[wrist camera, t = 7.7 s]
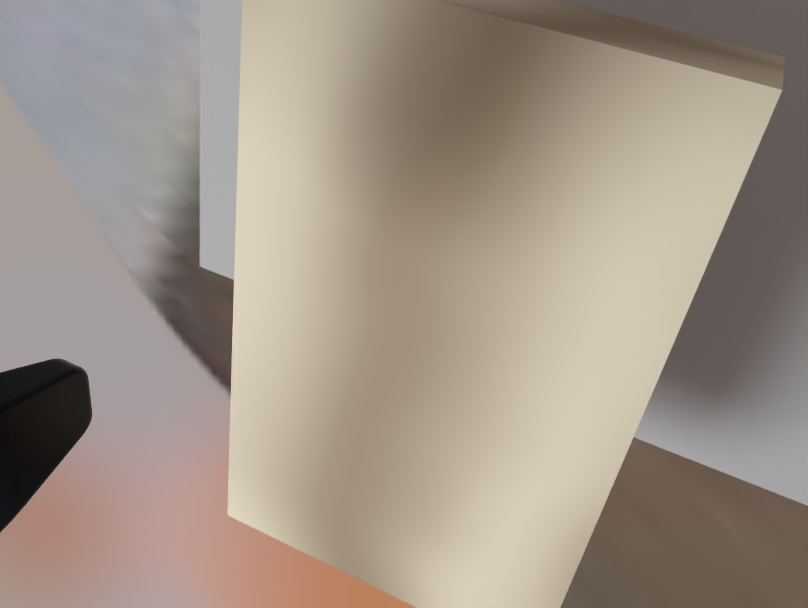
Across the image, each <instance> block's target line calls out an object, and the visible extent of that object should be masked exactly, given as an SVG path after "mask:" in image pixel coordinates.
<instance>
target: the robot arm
mask: <svg viewBox="0 0 808 608" xmlns="http://www.w3.org/2000/svg"><path fill="white" fill-rule="evenodd" d="M91 418H92V408H91V399H90V390H89V381H88V375H87V373H86V372H85V370H84V369H83V368H81V367H79V366H77V365H74V364H72V363H70V362H68V361H66V360H63V359H51V360H47V361H43V362H39V363H35V364H31V365H28V366H24V367H20V368H16V369H12V370H9V371H5V372H1V373H0V532H1V531H2V530H3V529H4V528H5V527H6V526H7V525H8V524H9V523H10V522H11V521H12V519H14V517H15V516H16V515H17V514H18V513H19V512H20V510H21V509H22V508H23V507H24V506H25V505H26V504H27V502H28V501H29V500H30V499H31V497H32V496H33V495H34V494H35V493H36V491H37V490H38V489H39V488H40V486H41V485H42V484H43V483H44V481H45V480H46V479H47V478H48V477H49V476H50V474H51V473H52V472H53V471H54V469H55V468H56V467H57V466H58V465H59V463H60V462H61V461H62V460H63V458H64V457H65V456H66V455H67V454H68V452H69V451H70V450H71V449H72V448H73V446H74V445H75V444H76V442H77V441H78V440H79V439H80V438H81V437H82V435H83V434H84V433H85V431H86V430H87V428H88V426H89V424H90V421H91Z"/></svg>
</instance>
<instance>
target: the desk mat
mask: <svg viewBox="0 0 808 608" xmlns="http://www.w3.org/2000/svg"><path fill="white" fill-rule="evenodd" d="M557 1H561V2H565V3H569V4H573V5H577V6H581V7H585V8H589V9H593V10H597V11H601V12H605V13H609V14H614V15H618V16H622V17H626V18H630V19H634V20H638V21H642V22H646V23H650V24H654V25H658V26H662V27H666V28H670V29H674V30H678V31H682V32H686V33H690V34H694V35H698V36H702V37H706V38H710V39H714V40H718V41H722V42H727V43H731V44H735V45H739V46H743V47H747V48H751V49H755V50H759V51H763V52H767V53H771V54H775V55H779V56H783V57H785V64H784V77H783V89H782V92H781V94H780V97H779V99H778V101H777V104H776V106H775V108H774V111H773V113H772V115H771V118H770V120H769V122H768V125H767V127H766V129H765V132H764V134H763V136H762V139H761V141H760V143H759V146H758V148H757V150H756V153H755V155H754V157H753V160H752V162H751V164H750V167H749V169H748V171H747V174H746V176H745V178H744V181H743V183H742V185H741V188H740V190H739V192H738V195H737V197H736V199H735V202H734V204H733V206H732V209H731V211H730V213H729V216H728V218H727V220H726V223H725V225H724V227H723V230H722V232H721V234H720V237H719V239H718V241H717V244H716V246H715V248H714V251H713V253H712V255H711V258H710V260H709V262H708V265H707V267H706V269H705V272H704V274H703V276H702V278H701V281H700V283H699V285H698V288H697V290H696V292H695V295H694V297H693V299H692V302H691V304H690V306H689V309H688V311H687V313H686V316H685V318H684V320H683V323H682V325H681V327H680V330H679V332H678V334H677V337H676V339H675V341H674V344H673V346H672V348H671V351H670V353H669V355H668V358H667V360H666V362H665V365H664V367H663V369H662V372H661V374H660V376H659V379H658V381H657V383H656V386H655V388H654V390H653V393H652V395H651V397H650V400H649V402H648V404H647V407H646V409H645V411H644V414H643V416H642V418H641V421H640V423H639V425H638V428H637V430H636V432H635V435H634V437H635V438H637V439H640V440H642V441H645V442H647V443H650V444H652V445H655V446H657V447H660V448H663V449H665V450H668V451H670V452H673V453H675V454H678V455H680V456H683V457H685V458H688V459H691V460H693V461H696V462H698V463H701V464H703V465H706V466H708V467H711V468H713V469H716V470H718V471H721V472H724V473H726V474H729V475H731V476H734V477H736V478H739V479H741V480H744V481H746V482H749V483H752V484H754V485H757V486H759V487H762V488H764V489H767V490H769V491H772V492H774V493H777V494H779V495H782V496H785V497H787V498H790V499H792V500H795V501H797V502H800V503H802V504H805V505H807V506H808V0H557ZM241 20H242V0H200V267H203V268H205V269H208V270H210V271H213V272H215V273H218V274H220V275H223V276H226V277H228V278H231V279H233V280H234V267H235V232H236V197H237V161H238V126H239V91H240V55H241Z"/></svg>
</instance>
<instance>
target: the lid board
mask: <svg viewBox="0 0 808 608" xmlns="http://www.w3.org/2000/svg"><path fill="white" fill-rule="evenodd" d="M784 64H785V57H783V56H779V55H775V54H771V53H767V52H763V51H759V50H755V49H751V48H747V47H743V46H739V45H735V44H731V43H727V42H722V41H718V40H714V39H710V38H706V37H702V36H698V35H694V34H690V33H686V32H682V31H678V30H674V29H670V28H666V27H662V26H658V25H654V24H650V23H646V22H642V21H638V20H634V19H630V18H626V17H622V16H618V15H614V14H609V13H605V12H601V11H597V10H593V9H589V8H585V7H581V6H577V5H573V4H569V3H565V2H561V1H557V0H242V20H241V55H240V91H239V126H238V161H237V197H236V232H235V267H234V303H233V338H232V374H231V409H230V410H231V411H230V447H229V480H228V482H229V483H228V516H230V517H232V518H234V519H236V520H238V521H241V522H242V523H245V524H247V525H249V526H251V527H253V528H255V529H257V530H259V531H261V532H263V533H265V534H267V535H269V536H271V537H273V538H275V539H277V540H279V541H282V542H284V543H286V544H288V545H290V546H292V547H294V548H296V549H298V550H300V551H302V552H304V553H306V554H308V555H310V556H312V557H315V558H317V559H318V560H320V561H322V562H324V563H327V564H329V565H331V566H333V567H335V568H337V569H339V570H341V571H343V572H345V573H347V574H349V575H351V576H353V577H355V578H357V579H359V580H361V581H363V582H366V583H368V584H370V585H372V586H374V587H376V588H378V589H380V590H382V591H384V592H386V593H388V594H390V595H393V596H394V597H396V598H399V599H400V600H403V601H404V602H407V603H409V604H411V605H413V606H415V607H417V608H560V607H561V605H562V602H563V600H564V598H565V595H566V593H567V591H568V588H569V586H570V584H571V581H572V579H573V577H574V574H575V572H576V570H577V567H578V565H579V563H580V560H581V558H582V556H583V553H584V551H585V549H586V546H587V544H588V542H589V539H590V537H591V535H592V532H593V530H594V528H595V525H596V523H597V521H598V518H599V516H600V514H601V511H602V509H603V507H604V504H605V502H606V500H607V497H608V495H609V493H610V490H611V488H612V486H613V484H614V481H615V479H616V477H617V474H618V472H619V470H620V467H621V465H622V463H623V460H624V458H625V456H626V453H627V451H628V449H629V446H630V444H631V442H632V439H633V437H634V435H635V432H636V430H637V428H638V425H639V423H640V421H641V418H642V416H643V414H644V411H645V409H646V407H647V404H648V402H649V400H650V397H651V395H652V393H653V390H654V388H655V386H656V383H657V381H658V379H659V376H660V374H661V372H662V369H663V367H664V365H665V362H666V360H667V358H668V355H669V353H670V351H671V348H672V346H673V344H674V341H675V339H676V337H677V334H678V332H679V330H680V327H681V325H682V323H683V320H684V318H685V316H686V313H687V311H688V309H689V306H690V304H691V302H692V299H693V297H694V295H695V292H696V290H697V288H698V285H699V283H700V281H701V278H702V276H703V274H704V272H705V269H706V267H707V265H708V262H709V260H710V258H711V255H712V253H713V251H714V248H715V246H716V244H717V241H718V239H719V237H720V234H721V232H722V230H723V227H724V225H725V223H726V220H727V218H728V216H729V213H730V211H731V209H732V206H733V204H734V202H735V199H736V197H737V195H738V192H739V190H740V188H741V185H742V183H743V181H744V178H745V176H746V174H747V171H748V169H749V167H750V164H751V162H752V160H753V157H754V155H755V153H756V150H757V148H758V146H759V143H760V141H761V139H762V136H763V134H764V132H765V129H766V127H767V125H768V122H769V120H770V118H771V115H772V113H773V111H774V108H775V106H776V104H777V101H778V99H779V97H780V94H781V92H782V89H783V77H784Z"/></svg>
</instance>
